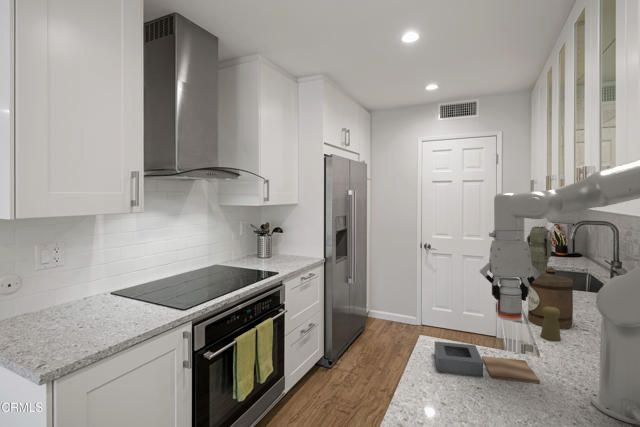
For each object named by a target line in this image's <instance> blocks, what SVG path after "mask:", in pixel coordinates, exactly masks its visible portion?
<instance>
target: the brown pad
mask: <svg viewBox="0 0 640 427" xmlns="http://www.w3.org/2000/svg"><path fill="white" fill-rule="evenodd" d="M481 359H482V361H483V365H484V366H485V369H486V370H487V372H488V374H489V377H490V378H491V379H495V378H496V379H497V380H504V379H505V381H506V380H507V381H512V380H513V382H521V381H522V382H523V383H530V382H532V383H531V384H539V383H540V384H541V380H540V379H539V377H538V376H537V375H536V373H535V372H534V371H533V369H532V367H531V366H530V365H529V364H528V363H527V361H526V360H524V359H516V358H514V359H513V358H506V357H505V358H504V357H497V356H495V357H493V356H486V355H481Z"/></svg>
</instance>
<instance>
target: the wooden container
mask: <svg viewBox="0 0 640 427" xmlns="http://www.w3.org/2000/svg"><path fill="white" fill-rule="evenodd" d="M556 272H557V270H556V268H553V267H547V269H546V273H545V274H540V275H539V276H538V277H537V278H536V279H535V280H534V281H533V282H532V283H531V284H530V285H529V295H528V297H527V299H528V304H527V308H528V310H527V313H528V314H527V316H528V317H527V319H528V321H529V322H531V323H533V324H535V325H537V326H540V327H542V325H543V320H544V315H543V312H542V310H543V308H544V307H555V308H557V309H559V311H560V316H559V317H558V322H559V329H560V330H565V329H571V328H573V323H574V322H573V321H574V320H573V316H574V315H573V314H574V313H573V312H574V303H573V302H574V301H573V300H574V299H573V298H574V297H573V296H574V294H573V293H574V290H573V289H574V280H573V278H570V277H567V276H563V275H557V274H556Z"/></svg>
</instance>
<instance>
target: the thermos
mask: <svg viewBox="0 0 640 427" xmlns="http://www.w3.org/2000/svg"><path fill="white" fill-rule="evenodd" d="M548 235H549V233H548V230H547V228H546V227H544V226H532V227H531V229H530V232H529V235H528V236H527V237H526V241H527V242H528V244H529V249H530V255H531V265H532V266H533V267H535V268H536V269H537V270H538V271H539V272H540V273H541V274H545V273H546V269H547V268H548V264H549V259H550V258H551V256H552V239H551V237H549V236H548ZM528 296H529V286H528Z"/></svg>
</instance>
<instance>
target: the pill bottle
mask: <svg viewBox="0 0 640 427" xmlns="http://www.w3.org/2000/svg"><path fill="white" fill-rule="evenodd" d="M520 284H521V280H520V278H519V277H500V279H499V281H498V286H499V300H497V302H496V304H497V317H498V318H499V319H501V320H505V321H509V322H510V321H511V322H516V321H518V322H519V321H521V320H522V317H523V310H522V309H523V300H522V290H521V289H520Z"/></svg>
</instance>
